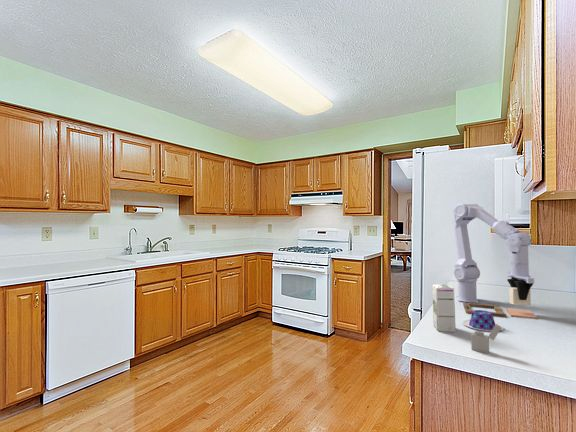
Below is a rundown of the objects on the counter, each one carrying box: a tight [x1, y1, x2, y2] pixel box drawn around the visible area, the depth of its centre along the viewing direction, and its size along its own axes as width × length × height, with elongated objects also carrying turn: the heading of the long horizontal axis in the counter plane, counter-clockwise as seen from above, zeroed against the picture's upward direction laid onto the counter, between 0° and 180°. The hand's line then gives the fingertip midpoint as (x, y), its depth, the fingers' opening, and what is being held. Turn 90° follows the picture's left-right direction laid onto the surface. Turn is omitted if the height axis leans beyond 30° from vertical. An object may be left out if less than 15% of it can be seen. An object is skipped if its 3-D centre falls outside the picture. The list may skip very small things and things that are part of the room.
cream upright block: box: [508, 286, 532, 306], centre depth 122 cm, size 3×6×6 cm, turn 81°
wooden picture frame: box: [462, 302, 507, 318], centre depth 127 cm, size 14×13×2 cm
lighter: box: [470, 323, 502, 354], centre depth 88 cm, size 7×2×8 cm, turn 55°
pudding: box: [462, 309, 504, 332], centre depth 109 cm, size 12×12×5 cm
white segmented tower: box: [432, 283, 457, 333], centre depth 106 cm, size 6×6×14 cm
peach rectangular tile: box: [504, 307, 538, 320], centre depth 122 cm, size 10×8×1 cm
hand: (520, 298), depth 122 cm, fingers closed on cream upright block, 3 cm apart
